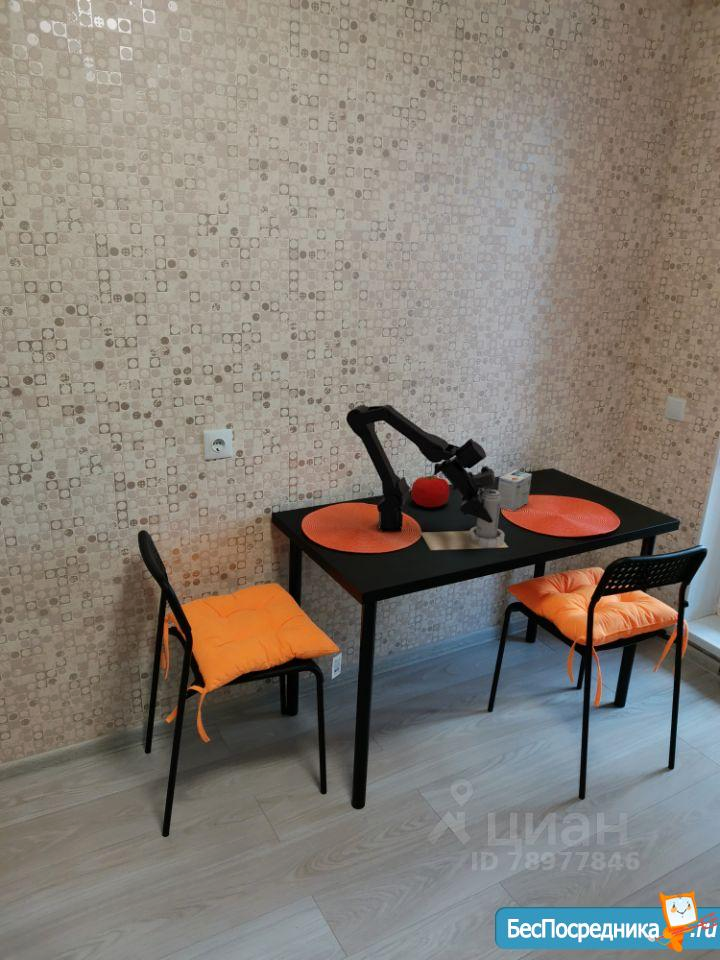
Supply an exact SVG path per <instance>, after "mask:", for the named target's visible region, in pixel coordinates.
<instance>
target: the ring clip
mask: <svg viewBox="0 0 720 960" xmlns="http://www.w3.org/2000/svg"><path fill="white" fill-rule="evenodd" d="M476 527H477V525H475V526H473V527H471V528H470V529H469V531H470V532H469V540H470V542H471V543H473V544H475V545H477V546H480V547H486V548H485V549H496V548H495V547H499V546H501V545H502V544H503V542H505V532H504V531H503V530H501V529H499V528H497V536H496V538H483V537H480V536H477V535H476Z"/></svg>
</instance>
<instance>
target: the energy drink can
mask: <svg viewBox="0 0 720 960" xmlns="http://www.w3.org/2000/svg"><path fill="white" fill-rule="evenodd" d="M483 489H484V490H483V492H482V494H481V495H480V496H481V498H482V500H483V499H485V501H484V506H485V508H486V510H487V511H488V513H489V515H490V516H491V518H492V520H493V522H492V523H488V522H486V521H484V520H482V519H480V518H478V517H476V518H477V519H476V526H477V527H476V526H475V527H476V535H477V536H480V537H483V538H496V536H497V528H498V527H499V519H500V511H501V508H500V504H501V497H500V492H499V491H498V489H493V488H488V489H485V488H483ZM498 529H499V528H498Z"/></svg>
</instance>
